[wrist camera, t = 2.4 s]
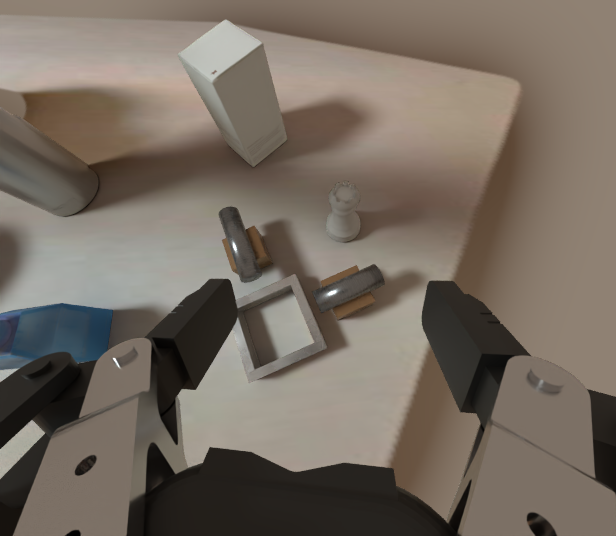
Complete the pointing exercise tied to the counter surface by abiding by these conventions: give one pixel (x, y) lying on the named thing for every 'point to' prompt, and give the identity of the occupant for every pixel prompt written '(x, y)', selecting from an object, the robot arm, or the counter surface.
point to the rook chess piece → (343, 212)
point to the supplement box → (237, 90)
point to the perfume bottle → (53, 333)
